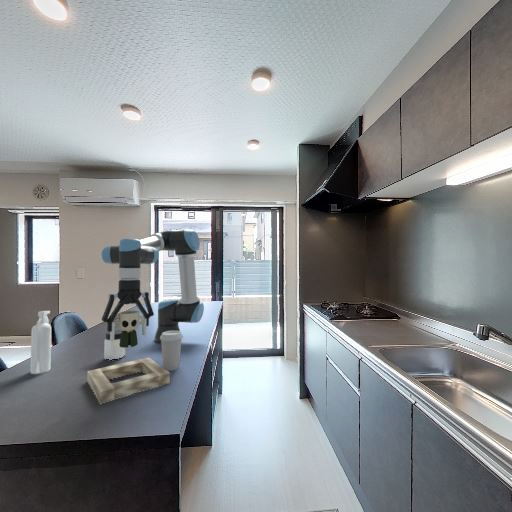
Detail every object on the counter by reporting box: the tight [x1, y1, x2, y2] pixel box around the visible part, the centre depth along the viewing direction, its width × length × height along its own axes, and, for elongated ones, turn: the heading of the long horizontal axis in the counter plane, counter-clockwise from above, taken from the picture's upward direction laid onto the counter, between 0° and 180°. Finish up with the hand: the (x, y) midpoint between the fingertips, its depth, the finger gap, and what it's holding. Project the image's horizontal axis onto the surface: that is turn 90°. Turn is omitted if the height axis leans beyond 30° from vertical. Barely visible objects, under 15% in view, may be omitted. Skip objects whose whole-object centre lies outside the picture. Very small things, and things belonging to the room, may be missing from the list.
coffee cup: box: [160, 330, 184, 372], centre depth 117 cm, size 10×10×15 cm
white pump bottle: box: [29, 310, 52, 375], centre depth 113 cm, size 7×12×25 cm, turn 18°
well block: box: [86, 357, 171, 404], centre depth 102 cm, size 23×22×4 cm
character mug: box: [112, 310, 145, 349], centre depth 103 cm, size 11×7×13 cm, turn 120°
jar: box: [103, 330, 126, 361], centre depth 129 cm, size 9×8×12 cm
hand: (128, 337), depth 103 cm, fingers closed on character mug, 11 cm apart
